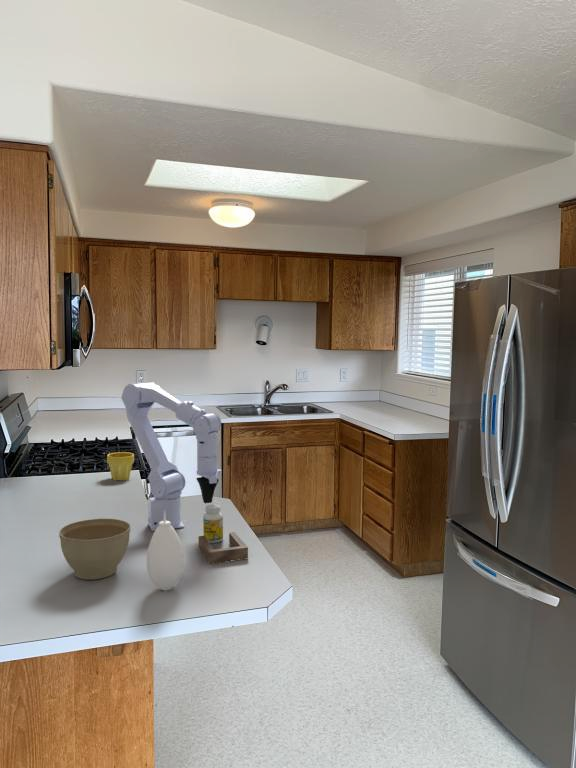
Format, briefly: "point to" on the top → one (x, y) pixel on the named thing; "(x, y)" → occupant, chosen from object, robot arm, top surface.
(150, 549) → the sauce bottle
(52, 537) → the top surface
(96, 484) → the top surface
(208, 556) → the u rest
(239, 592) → the top surface
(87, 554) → the planter bowl
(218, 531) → the supplement bottle
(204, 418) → the robot arm
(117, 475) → the plant pot
